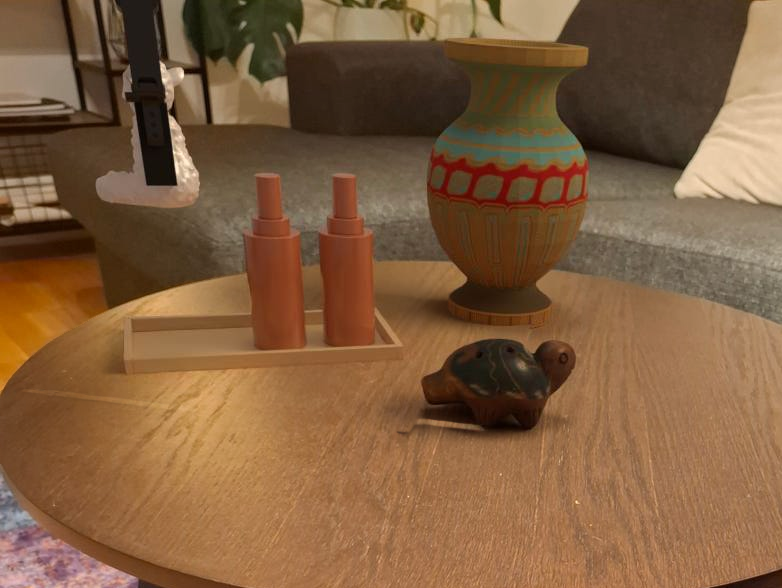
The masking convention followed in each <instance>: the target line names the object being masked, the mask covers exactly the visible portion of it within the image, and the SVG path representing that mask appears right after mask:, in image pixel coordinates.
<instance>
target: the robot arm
mask: <svg viewBox="0 0 782 588" xmlns="http://www.w3.org/2000/svg"><path fill="white" fill-rule="evenodd" d="M114 3H115V7H116V9H117V11H118V12H120V13H121V16H122V22H123V23H122V24H123V30H124V37H125V44H126V52H127V57H128V66H129V65H130V71H131V78H132V84H131V90H132V92H125V98H126V100H125V103H128V102H134V106H135V113H136V119H137V126H138V133H139V139H140V146H141V153H142V159H143V166H144V173H145V179H146V186H178V185H177V178H176V170H175V162H174V155H173V147H172V140H171V132H170V124H169V117H168V112H169V110H168V109H167V102H165V100H164V99H166V93H165V85H164V84H163V83H162V76H161V68H160V61H161V60H160V55H159V46H158V40H157V39H158V38H157V32H156V31H157V30H156V24H155V15H156V14H158V12H159V1H158V0H114ZM135 113H134V114H135Z"/></svg>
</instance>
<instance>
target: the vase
mask: <svg viewBox="0 0 782 588" xmlns="http://www.w3.org/2000/svg"><path fill="white" fill-rule="evenodd" d="M443 56H444V57H445V58H447V59H448V60H450V61H452V62H453V63H455V64H456V65H458V66H459V67H461V68H462V70H463V71H464V72H465V73H466V75H467V76H468V80H469V82H470V96H469V100H468V101H469V102H468V105H467V108H466V109H465V111H464V112H463V113H462V114H461V115H460V116H459V117H458V118H456V119H455V120H454V121H453V122H451V124H449V126H448V127H446V128H445V130H444V131H442V133H440V135H438V137H437V139H436V142H435V143H434V144H433V147H432V149H431V153H430V156H429V160H428V164H427V171H426V204H427V208H428V213H429V218H430V223H431V226H432V229H433V231H434V234H435V236H436V238H437V241H438V243H439V246H440V248H441V249H442V250H443V252H444V253H445V255H446V256H447V257H448V259H449V260H450V261H451V263H453V265H455V266H456V268H457V269H458V270H459V271H460V272H461V273H462V274H463V275H464V276H465V277H466V281H465V283H463V284H462V285H460V286H459V287H457V288H455V289H454V290H453V291H451V292H450V293H448V298H447V309H448V311H449V312H450V314H451V315H454V316H455V317H457V318H459V319H462V320H464V321H468V322H472V323H476V324H482V325H488V326H500V327H501V326H502V327H517V326H519V327H520V326H521V327H522V326H528V325H530V329H534V328H537V327H541V326H544V325H545V324H548V323H549V322H550V321H551V319H552V311H553V301H552V300H551V298H550V297H549V296H547V294H545V293H544V292H543V291H542V290H540V289H539V288H538V286H537V283H538V281H539V280H541V279H542V278H543V277H544V276H546V275H547V274H548V273H549V272H551V270H553V269H554V267H555V266H557V265H558V264H559V262H561V261H562V259H564V257H566V255H567V254H568V251H569V250H570V249H571V247H572V245H573V243H574V242H575V240H576V239H577V236H578V235H579V233H580V229H581V226H582V223H583V220H584V218H585V214H586V208H587V203H588V197H589V190H590V172H589V166H588V165H589V164H588V158H587V156H586V152H584V148H583V146H582V144H581V143H580V141H579V140H578V138H577V137H576V136H575V134H574V133H573V132H572V131H571V130H570V129H569V128H568V127H567V126H566V124H565V123H564V122H563V121H562V120H561V118H560V117H559V114H558V111H557V104H556V103H557V102H556V99H557V91H558V88H559V85H560V83H561V82H562V80H564V78H565V77H566V76H567V75H569V74H570V73H572V72H575V71H577V70H579V69H581V68H583V67H585V66H587V65H588V60H589V47H587V46H583V45H577V44H570V43H569V44H567V43H561V42H560V43H559V42H549V41H539V40H537V41H536V40H525V39H523V40H522V39H509V38H507V39H506V38H485V37H448V38H447V37H445V38H444V43H443Z"/></svg>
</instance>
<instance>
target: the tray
mask: <svg viewBox="0 0 782 588" xmlns="http://www.w3.org/2000/svg"><path fill="white" fill-rule="evenodd" d="M305 320H306V336H307V345H306V346H305V347H304V348H302V349H288V350H268V351H264V350H261V349H258V348H257V347H255V346H254V341H253V331H252V320H251V312H228V313H227V312H226V313H202V314H174V315H171V314H170V315H147V316H124V317H123V356H122V357H123V358H122V359H123V367H124V372H125V375H126V376H128V375H144V374H165V373H180V372H181V373H182V372H183V373H184V372H199V371H200V372H204V371H221V370H238V369H255V368H256V369H257V368H275V367H276V368H277V367H278V368H279V367H296V366H297V367H298V366H312V365H315V366H316V365H332V364H351V363H352V364H353V363H368V362H387V361H388V362H389V361H404V355H405V354H404V351H405V350H404V345H403V343H402V342H401V341H400V339H399V338H398V336H397V335H396V333H395V331H394V330H393V329H392V328H391V326H390V325H389V324H388V322H387V321H386V319H385V318H384V316H383V315H382V313H381V312H380V311H379V310H378V308H377V307H375V342H374V343H373V344H372V345H370V346H350V347H333V346H330V345H328V344H326V343H325V342H324V337H323V318H322V309H308V310H306V309H305Z"/></svg>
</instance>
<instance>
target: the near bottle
mask: <svg viewBox="0 0 782 588" xmlns="http://www.w3.org/2000/svg"><path fill="white" fill-rule="evenodd" d="M253 175H254V177H253V178H254V189H255V200H256V211H257V213H255V214H252V215H251V217H250V219H251V227H248V228H245V229H244V230H242V237H243V248H244V249H243V250H244V258H245V268H246V269H245V270H246V277H247V279H246V280H247V288H248V289H247V290H248V298H249V309H250V313H251V320H252V331H253V341H254V346H255V347H257V348H258V349H261V350H264V351H268V350H288V349H302V348H304V347H305V346H306V345H307V336H306V320H305V310H306V307H305V288H304V275H303V273H304V272H303V259H302V241H301V240H302V239H301V231H300V230H298V229H296V228H294V227H291V217H290V215H287V214H285V213H283V200H282V186H281V184H282V183H281V176H280V174H278V173H275V172H258V173H255V174H253Z"/></svg>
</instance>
